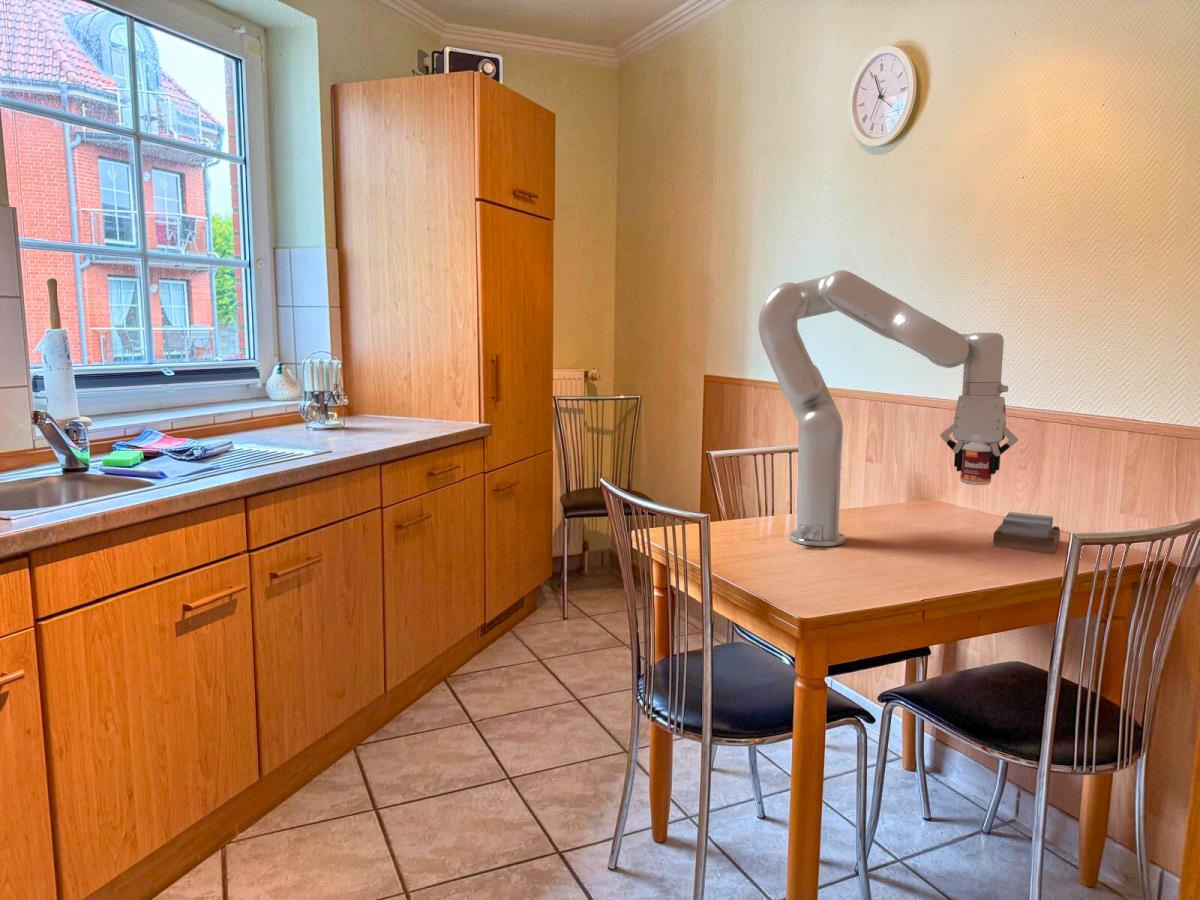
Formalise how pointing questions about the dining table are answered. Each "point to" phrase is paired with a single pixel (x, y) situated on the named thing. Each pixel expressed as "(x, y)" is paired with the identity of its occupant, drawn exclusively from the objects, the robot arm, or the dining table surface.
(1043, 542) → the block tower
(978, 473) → the pill bottle
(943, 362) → the robot arm
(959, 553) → the dining table surface
